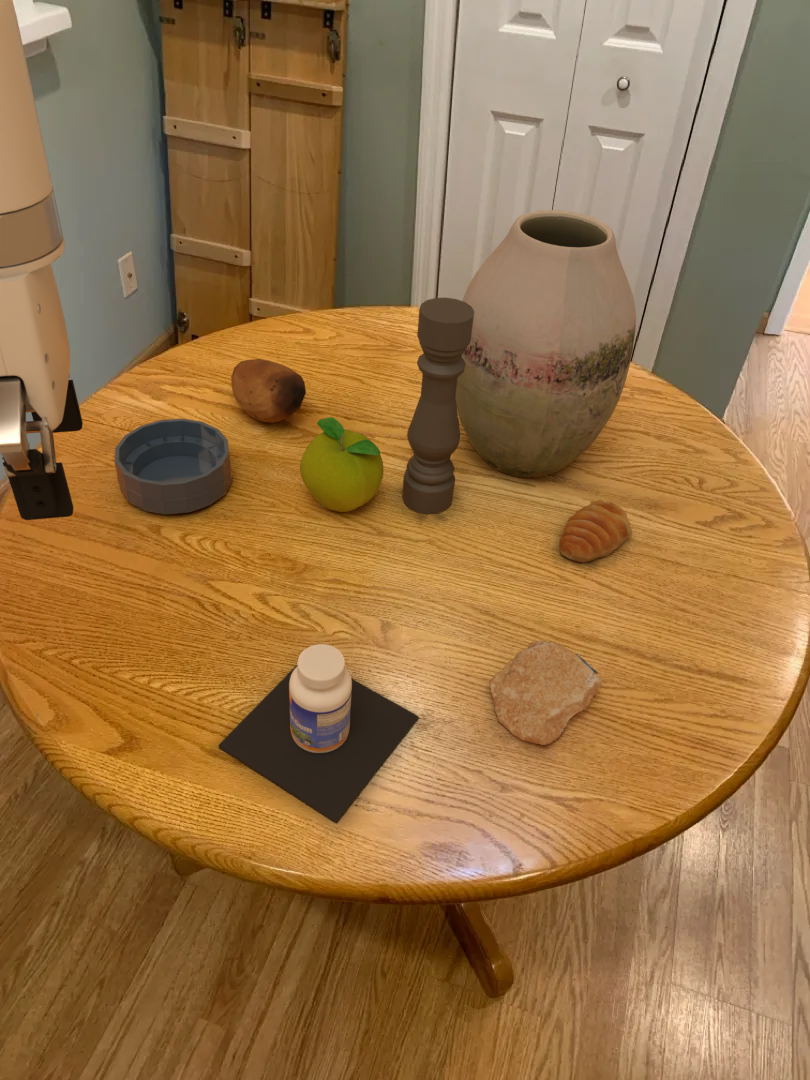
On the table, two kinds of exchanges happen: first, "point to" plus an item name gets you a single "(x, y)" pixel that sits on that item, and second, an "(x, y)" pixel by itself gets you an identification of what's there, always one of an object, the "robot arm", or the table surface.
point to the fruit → (341, 467)
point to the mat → (320, 775)
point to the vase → (545, 343)
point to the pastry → (595, 531)
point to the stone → (542, 691)
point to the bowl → (173, 466)
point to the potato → (267, 389)
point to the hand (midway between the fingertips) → (54, 470)
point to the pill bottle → (320, 699)
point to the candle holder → (437, 404)
